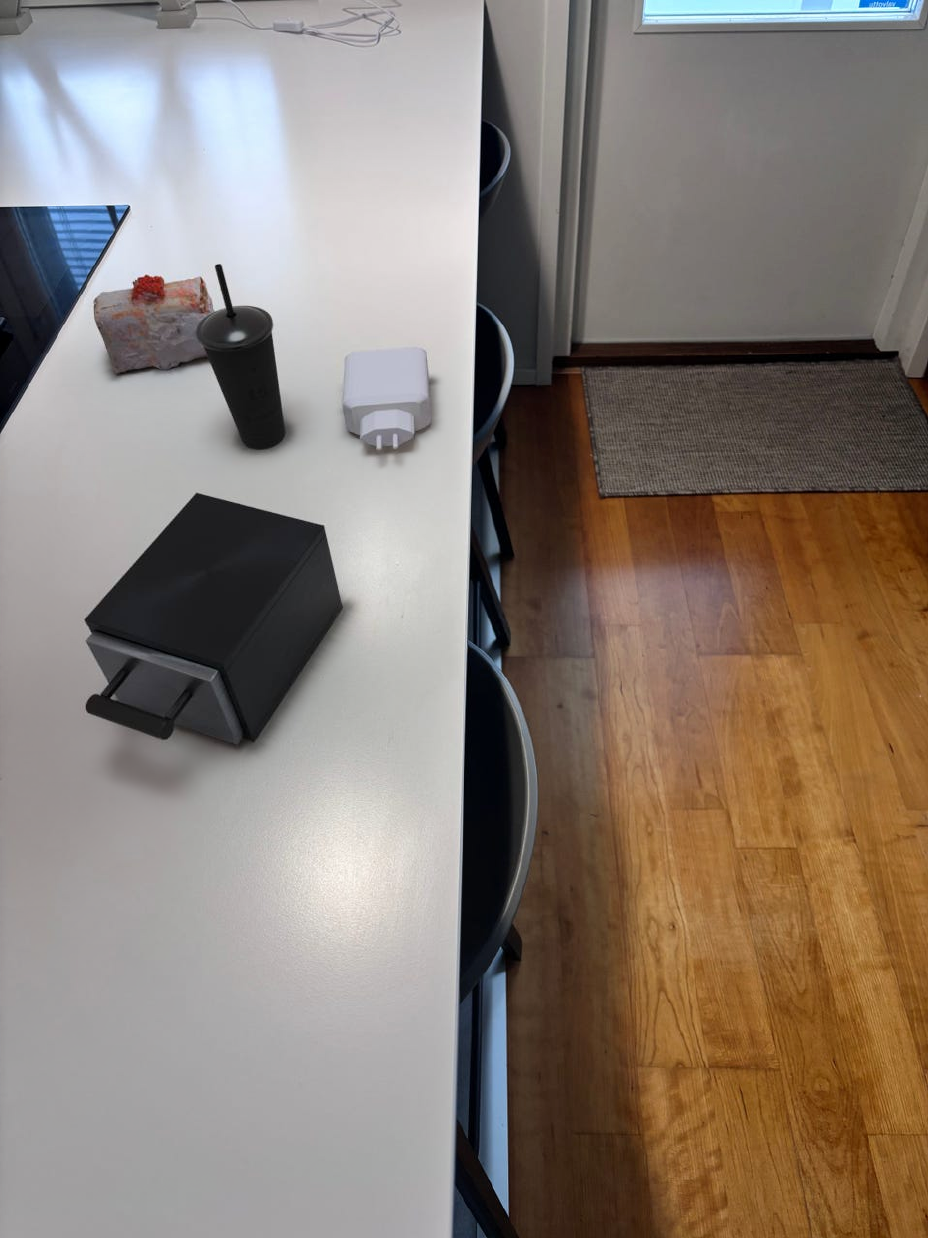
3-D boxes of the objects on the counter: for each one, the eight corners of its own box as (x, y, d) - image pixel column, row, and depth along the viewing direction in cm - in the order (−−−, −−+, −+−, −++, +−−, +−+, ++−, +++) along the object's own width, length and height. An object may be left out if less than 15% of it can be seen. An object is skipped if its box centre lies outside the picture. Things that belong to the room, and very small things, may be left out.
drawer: (208, 788, 74) (177, 726, 68) (88, 745, 77) (48, 682, 71) (323, 617, 85) (306, 550, 79) (214, 586, 88) (189, 519, 82)
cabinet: (254, 742, 78) (223, 663, 70) (126, 698, 81) (83, 619, 74) (343, 607, 87) (324, 525, 79) (225, 574, 91) (196, 492, 83)
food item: (222, 328, 120) (201, 254, 113) (227, 362, 115) (206, 287, 107) (113, 348, 118) (84, 274, 111) (113, 384, 113) (83, 309, 106)
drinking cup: (215, 436, 105) (162, 266, 90) (272, 406, 108) (230, 237, 93) (253, 467, 101) (204, 295, 86) (311, 435, 104) (274, 264, 89)
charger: (346, 470, 100) (349, 387, 110) (433, 463, 100) (429, 381, 110) (339, 434, 96) (343, 351, 106) (429, 427, 96) (425, 345, 106)
